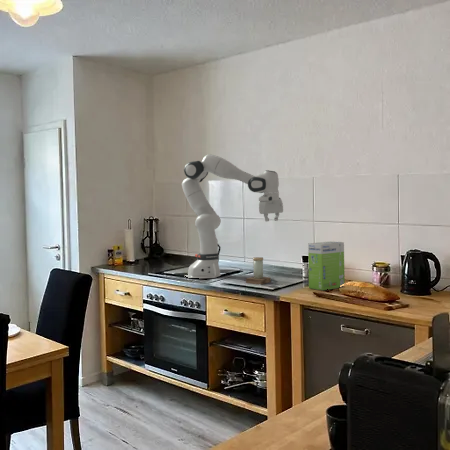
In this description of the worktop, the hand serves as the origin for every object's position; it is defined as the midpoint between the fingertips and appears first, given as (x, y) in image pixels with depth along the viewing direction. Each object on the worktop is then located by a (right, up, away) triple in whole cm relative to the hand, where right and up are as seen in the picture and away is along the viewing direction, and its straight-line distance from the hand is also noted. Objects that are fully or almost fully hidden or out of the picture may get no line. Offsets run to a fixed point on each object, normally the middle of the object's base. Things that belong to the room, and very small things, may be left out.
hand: (271, 221), depth 307 cm
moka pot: (-37, -33, +35) cm, 61 cm away
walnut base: (-9, -35, -13) cm, 38 cm away
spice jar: (-9, -33, -13) cm, 36 cm away
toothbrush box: (+26, -36, -33) cm, 56 cm away
